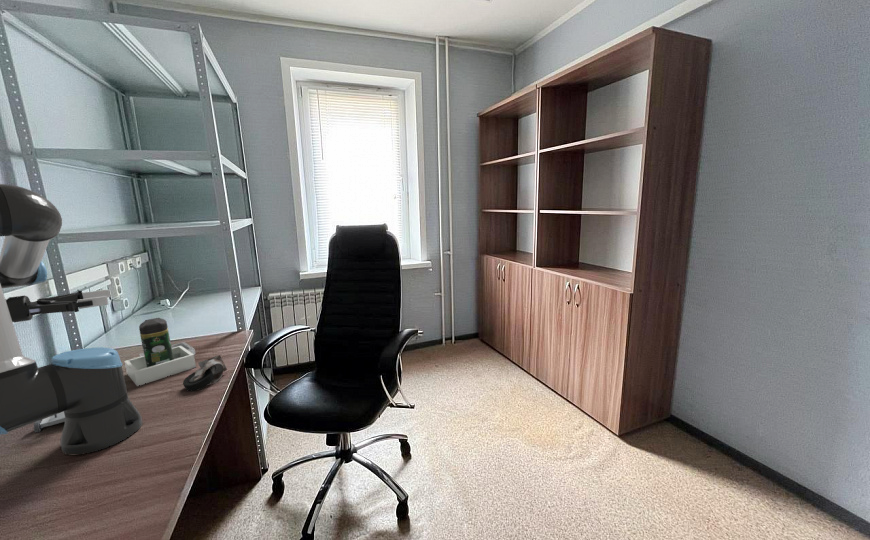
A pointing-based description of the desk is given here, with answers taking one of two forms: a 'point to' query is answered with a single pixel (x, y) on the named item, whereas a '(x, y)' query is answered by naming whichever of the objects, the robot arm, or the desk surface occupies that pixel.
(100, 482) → the desk surface
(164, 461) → the desk surface
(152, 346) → the coffee jar
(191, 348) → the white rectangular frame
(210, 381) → the caster wheel
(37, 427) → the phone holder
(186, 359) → the tray
